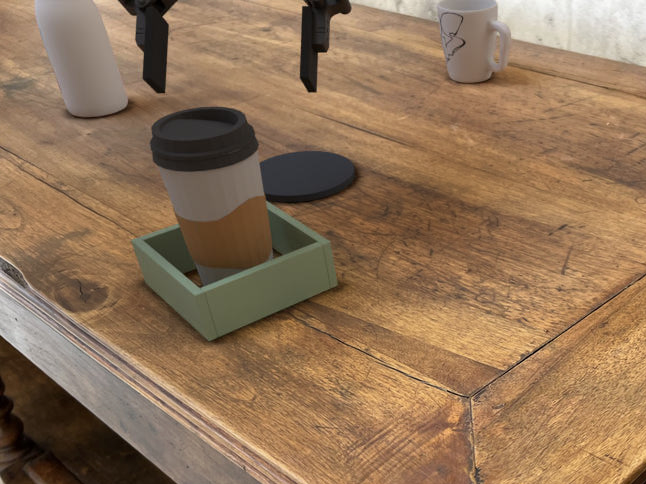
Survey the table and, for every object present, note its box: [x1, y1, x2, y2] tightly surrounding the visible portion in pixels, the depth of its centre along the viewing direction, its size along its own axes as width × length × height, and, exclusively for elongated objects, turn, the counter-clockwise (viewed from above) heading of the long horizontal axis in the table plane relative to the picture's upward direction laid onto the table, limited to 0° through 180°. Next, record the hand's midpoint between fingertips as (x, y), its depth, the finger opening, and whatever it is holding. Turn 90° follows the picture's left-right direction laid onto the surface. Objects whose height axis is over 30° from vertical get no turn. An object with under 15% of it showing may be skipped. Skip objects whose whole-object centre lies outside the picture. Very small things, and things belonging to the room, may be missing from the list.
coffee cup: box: [149, 106, 275, 287], centre depth 68 cm, size 8×8×15 cm
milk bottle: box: [34, 0, 129, 118], centre depth 102 cm, size 8×8×20 cm
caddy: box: [130, 200, 339, 342], centre depth 71 cm, size 13×13×4 cm
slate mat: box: [259, 150, 356, 203], centre depth 90 cm, size 12×12×1 cm
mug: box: [436, 0, 512, 84], centre depth 113 cm, size 11×8×10 cm
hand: (231, 86), depth 70 cm, fingers open, 13 cm apart
